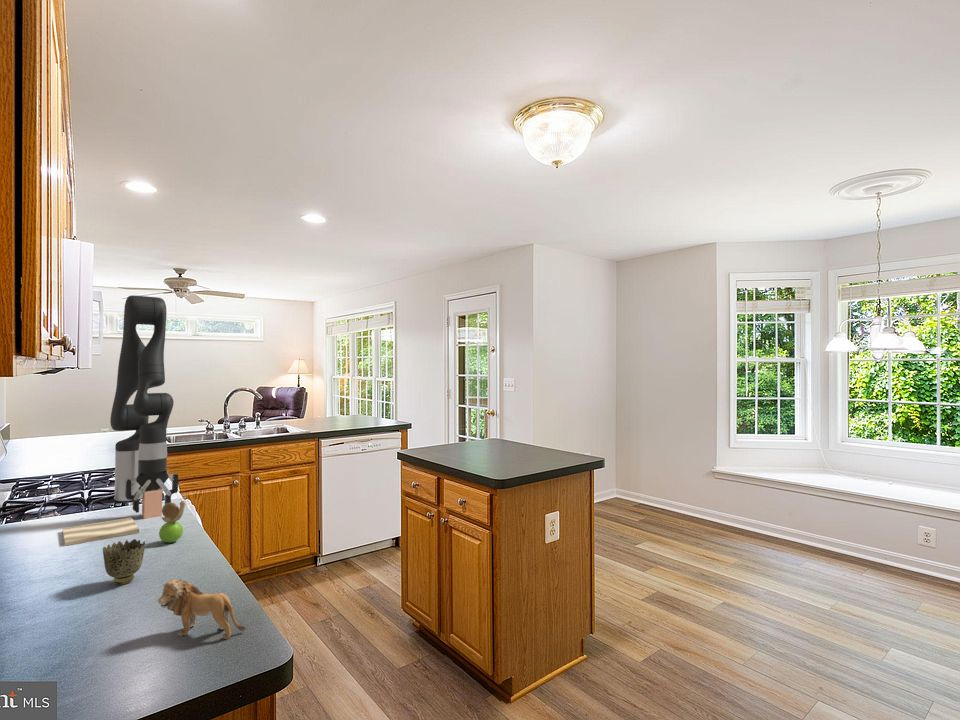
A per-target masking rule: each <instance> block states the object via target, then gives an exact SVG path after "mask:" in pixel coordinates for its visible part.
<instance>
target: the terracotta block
mask: <svg viewBox="0 0 960 720" xmlns="http://www.w3.org/2000/svg"><path fill="white" fill-rule="evenodd" d="M162 508H163V490H162V489H161V488H159V489H152V490H148V491H147V490H145V491H144V492H143V494H142V498H141V517H142V518H143V519H144V520H146V519H152V518H158V517H162V516H163V514H162Z"/></svg>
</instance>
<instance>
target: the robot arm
mask: <svg viewBox="0 0 960 720" xmlns="http://www.w3.org/2000/svg"><path fill="white" fill-rule="evenodd" d="M125 299H126V300H125V303H124V310H123V327H122V328H123V329H122V339H121V340H122V342H121V348H120V353H119V359H118V367H117V378H116V379H117V380H116V389H115V394H114V399H113V401H112V408H111V412H110V422H109V423H110V427H111V429H112V430H113V431H116V432H125V431H126V432H127V431H128V432H129V431H135V432H134V434H132V435H131V436H129V437H127V438H125V439H122V440H119V441H118V442H115V447H114V448H115V449H114V450H115V451H114V452H115V454H114V455H115V456H114V457H115V459H114V460H115V461H114V463H115V465H114V501H116V502H129V501H131V502H132V510H133V511H134V512H135V514H137V513H140V500H142V494H143V492H144V491H145V490H147V491H148V490H152V489H159V488H160V489H162V492H163V493H164V494H165V495H164V505H165V504H167V503H172V495H174V494H177V493H178V491H179V474H178V473H176V472H174V473H173V474H171V473H170V474H168V471H167V470H168V468H167V467H168V446H167V445H168V444H167V428H168V423H169V419H170V416H171V414H172V411H173V408H174V399H173V396H172V395H171V394H170V393H167V392H150V393H149V392H148V391H149V389H152V388H153V389H154V388H157V387H161V386H163V385H164V384H165V382H166V376H165V375H166V374H165V358H164V357H165V354H164V353H165V344H166V343H165V342H166V330H167V305H166V302H165V300H164V299H163V298H162V297H157V296H145V295H129V296H127V298H125ZM137 325H144V326H145V325H146V326H153V334H152V336H151V338H150V339H149V342H147V343H146V345H145V344H144V342H143V341H142V339H141V338H140V336H139V334H138V331H137ZM135 392H136V393H135ZM134 394H135V396H134V400H133V403H132V404H131V403H130V404H129V403H128V402H129V400H130V398H131V397H132V396H133V395H134ZM149 416H150V417H151V416H158V417H157V418H156V419H155V420H154V421H151V422H149V419H150V417H149ZM167 480H169V481H171V488H172V489H169V488H168V487H167V485H165V483H166V481H167Z"/></svg>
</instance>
